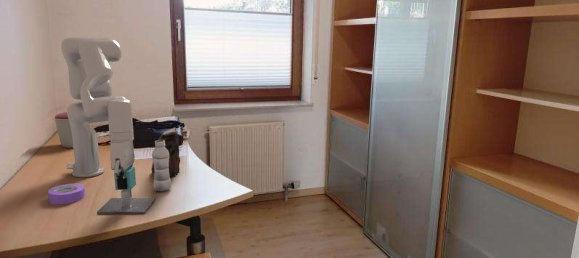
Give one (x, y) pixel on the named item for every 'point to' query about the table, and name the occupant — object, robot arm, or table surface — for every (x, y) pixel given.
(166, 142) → the owl
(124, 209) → the dark grey base plate
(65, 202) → the masking tape
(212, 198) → the table surface
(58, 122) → the canister
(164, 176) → the plastic bottle
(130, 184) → the teal rounded cube
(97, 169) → the robot arm
